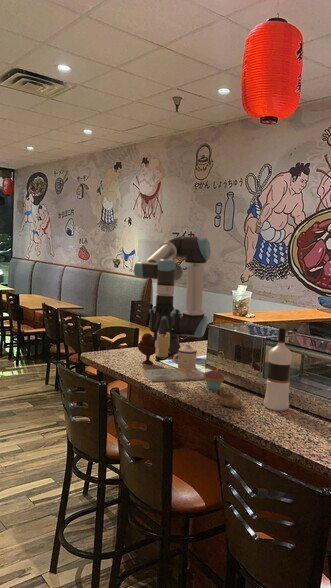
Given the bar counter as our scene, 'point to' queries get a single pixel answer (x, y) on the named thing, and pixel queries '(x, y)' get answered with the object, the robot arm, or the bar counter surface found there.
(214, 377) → the cupcake
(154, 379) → the grey flat slab
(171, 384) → the bar counter surface
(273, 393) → the vodka
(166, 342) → the beige upright block
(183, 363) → the teacup with lid
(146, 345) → the ice cream bowl
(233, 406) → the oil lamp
